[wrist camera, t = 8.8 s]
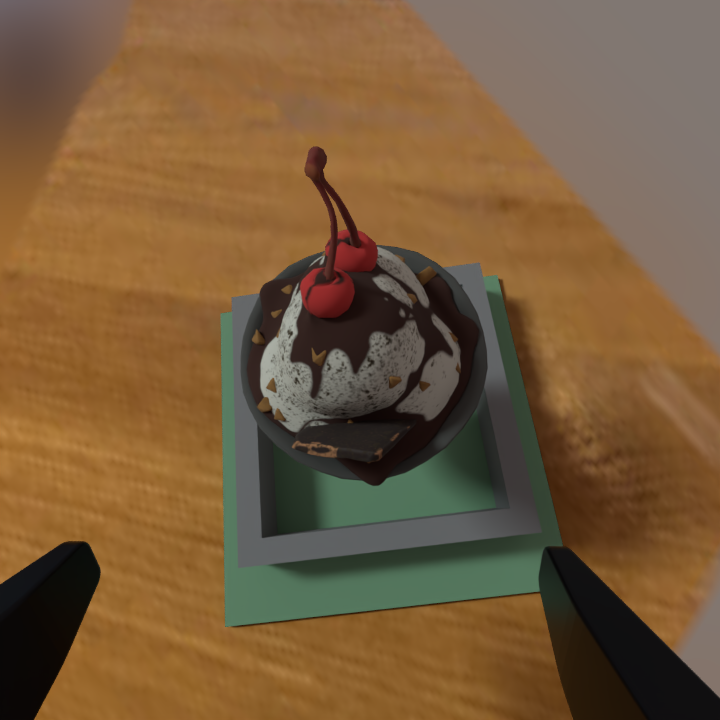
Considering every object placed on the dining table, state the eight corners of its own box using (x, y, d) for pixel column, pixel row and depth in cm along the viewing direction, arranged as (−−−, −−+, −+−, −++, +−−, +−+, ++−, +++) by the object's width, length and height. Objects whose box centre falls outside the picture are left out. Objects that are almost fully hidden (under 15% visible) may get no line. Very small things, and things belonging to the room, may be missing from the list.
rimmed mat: (570, 586, 19) (599, 600, 16) (227, 625, 19) (201, 644, 17) (495, 277, 23) (508, 249, 21) (222, 315, 24) (201, 292, 21)
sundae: (361, 329, 23) (323, 38, 8) (467, 409, 21) (639, 216, 7) (275, 426, 21) (56, 275, 7) (382, 520, 20) (374, 566, 6)
